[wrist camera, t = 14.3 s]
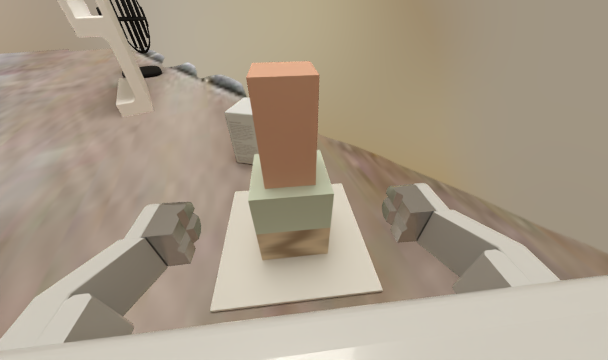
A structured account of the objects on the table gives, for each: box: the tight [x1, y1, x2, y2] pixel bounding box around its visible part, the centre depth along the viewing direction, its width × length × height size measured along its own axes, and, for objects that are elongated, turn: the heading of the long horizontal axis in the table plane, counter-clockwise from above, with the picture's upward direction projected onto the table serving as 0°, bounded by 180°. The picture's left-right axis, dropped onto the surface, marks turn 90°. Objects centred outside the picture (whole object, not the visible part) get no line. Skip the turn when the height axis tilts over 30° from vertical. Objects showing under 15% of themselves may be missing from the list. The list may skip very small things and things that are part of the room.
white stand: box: [57, 0, 154, 117], centre depth 66 cm, size 35×8×28 cm, turn 33°
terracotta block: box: [246, 61, 319, 189], centre depth 20 cm, size 5×5×10 cm
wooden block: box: [256, 228, 330, 260], centre depth 28 cm, size 8×8×5 cm
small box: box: [224, 98, 259, 164], centre depth 42 cm, size 8×6×10 cm
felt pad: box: [210, 184, 382, 312], centre depth 29 cm, size 18×18×1 cm
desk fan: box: [96, 0, 162, 78], centre depth 92 cm, size 27×18×35 cm, turn 34°
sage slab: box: [248, 150, 334, 235], centre depth 24 cm, size 8×8×5 cm
